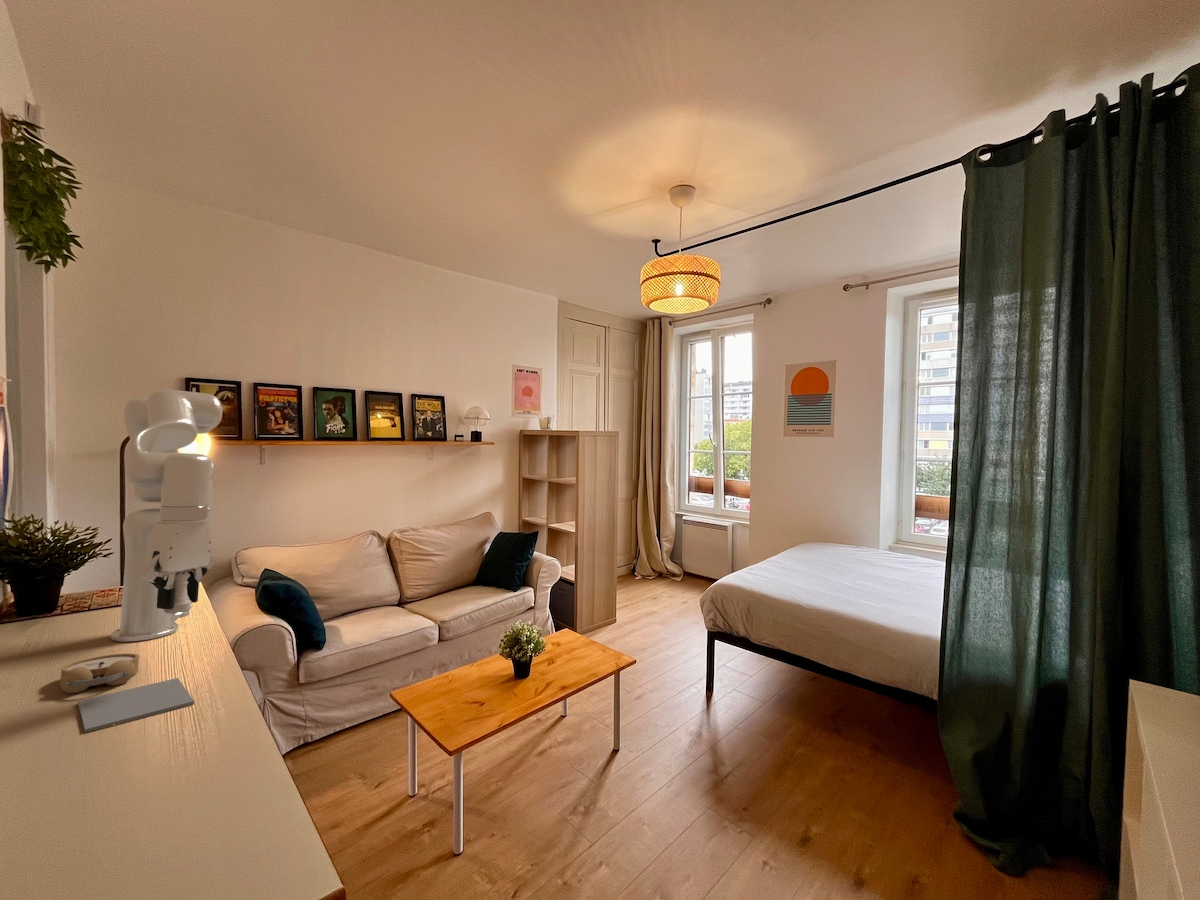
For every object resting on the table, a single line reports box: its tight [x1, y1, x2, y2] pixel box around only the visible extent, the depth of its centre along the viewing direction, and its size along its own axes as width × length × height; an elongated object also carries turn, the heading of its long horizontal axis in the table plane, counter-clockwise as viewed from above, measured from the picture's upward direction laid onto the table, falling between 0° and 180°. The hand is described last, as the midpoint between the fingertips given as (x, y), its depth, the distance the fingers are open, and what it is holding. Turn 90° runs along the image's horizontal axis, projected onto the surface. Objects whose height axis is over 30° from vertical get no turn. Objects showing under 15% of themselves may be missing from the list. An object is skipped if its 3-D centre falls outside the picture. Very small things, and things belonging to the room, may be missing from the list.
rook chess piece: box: [163, 570, 193, 614], centre depth 100 cm, size 4×4×8 cm
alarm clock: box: [59, 652, 140, 694], centre depth 99 cm, size 11×5×15 cm
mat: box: [77, 677, 195, 734], centre depth 90 cm, size 14×14×1 cm
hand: (177, 604), depth 100 cm, fingers closed on rook chess piece, 4 cm apart
